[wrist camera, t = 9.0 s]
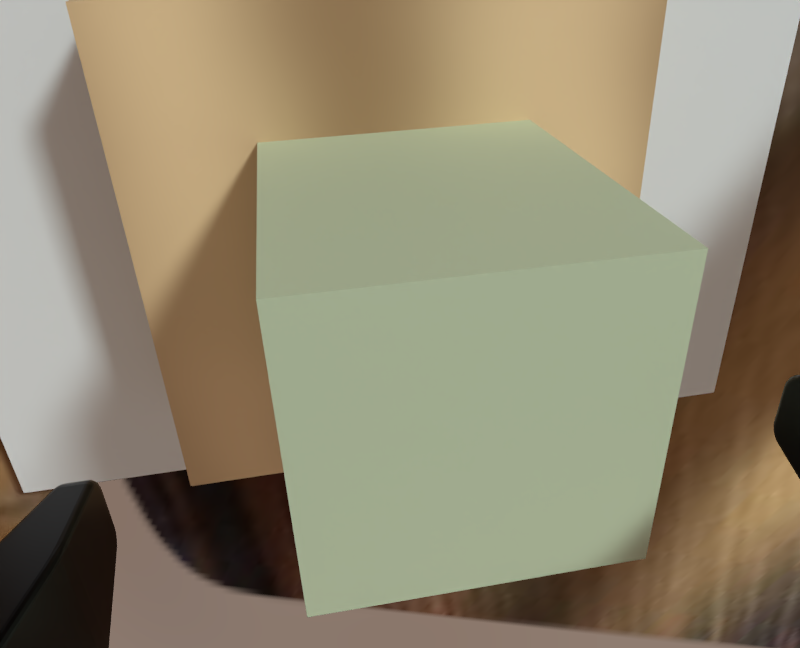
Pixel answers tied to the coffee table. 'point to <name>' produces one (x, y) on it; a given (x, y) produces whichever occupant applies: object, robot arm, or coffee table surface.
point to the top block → (465, 357)
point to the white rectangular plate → (116, 279)
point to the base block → (312, 118)
